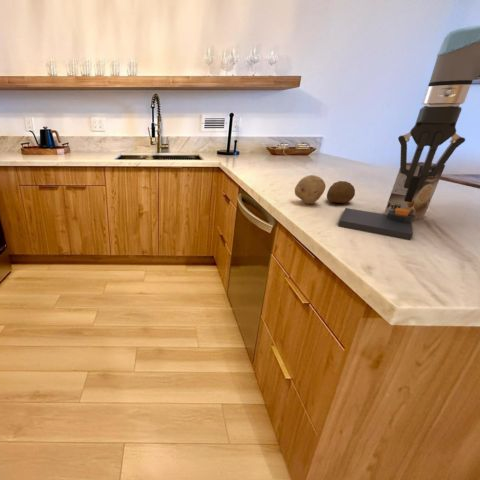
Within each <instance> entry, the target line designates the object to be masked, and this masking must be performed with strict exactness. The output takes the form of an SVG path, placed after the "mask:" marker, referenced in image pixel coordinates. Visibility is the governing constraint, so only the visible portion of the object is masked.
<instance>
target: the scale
mask: <svg viewBox="0 0 480 480" xmlns="http://www.w3.org/2000/svg"><path fill="white" fill-rule="evenodd" d="M395 211H396V210H391V211H388V214H387V215H386V214H384V213H380V212H374V211H367V210H362V209H355V208H348V207H345V209H344V210H343V212H342V215H341V217H340V219H339V222H338V225H337V227H339V228H343V229H349V230H355V231H358V232H359V231H360V232H365V233H371V234H373V235H374V234H375V235H380V236H385V237H390V238H396V239H400V240H406V241H411V239H412V238H413V234H414V233H413V226H412V223H413V222H414V221H415V220H414V218H415V215H414V214H412V213H409V214H408V216H403V215H398V214H395Z"/></svg>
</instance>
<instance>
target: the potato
mask: <svg viewBox="0 0 480 480" xmlns="http://www.w3.org/2000/svg"><path fill="white" fill-rule="evenodd" d="M355 195H356V189H355V187H354V185H353V184H352V183H351V182H348V181H345V180H344V181H343V180H338V181H336V182H333V184H332V185H331V186H329V187H328V190H327V193H326V199H327V201H329V202H331V203H337V204H347V203H349V202H350V201H352V200H353V199H354V197H355Z"/></svg>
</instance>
